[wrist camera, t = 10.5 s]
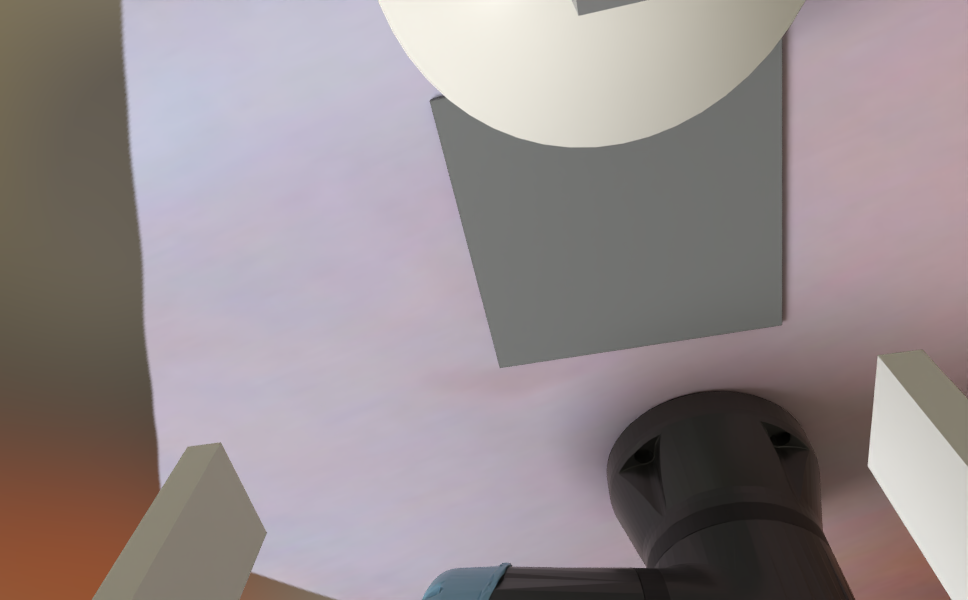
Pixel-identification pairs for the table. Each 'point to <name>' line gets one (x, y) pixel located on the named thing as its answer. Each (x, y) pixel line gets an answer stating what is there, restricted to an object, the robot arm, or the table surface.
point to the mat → (625, 228)
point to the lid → (587, 60)
